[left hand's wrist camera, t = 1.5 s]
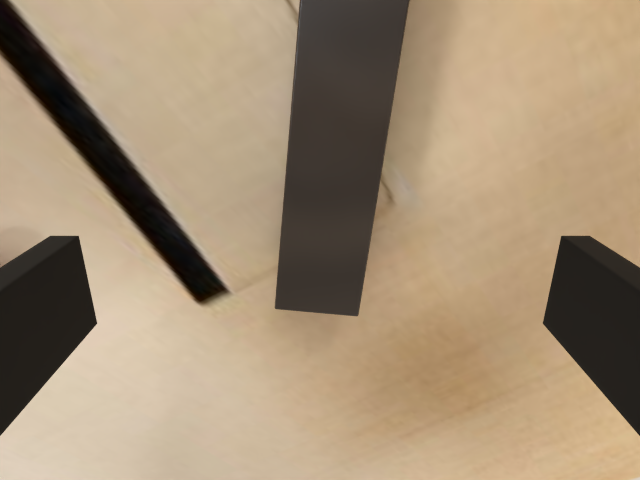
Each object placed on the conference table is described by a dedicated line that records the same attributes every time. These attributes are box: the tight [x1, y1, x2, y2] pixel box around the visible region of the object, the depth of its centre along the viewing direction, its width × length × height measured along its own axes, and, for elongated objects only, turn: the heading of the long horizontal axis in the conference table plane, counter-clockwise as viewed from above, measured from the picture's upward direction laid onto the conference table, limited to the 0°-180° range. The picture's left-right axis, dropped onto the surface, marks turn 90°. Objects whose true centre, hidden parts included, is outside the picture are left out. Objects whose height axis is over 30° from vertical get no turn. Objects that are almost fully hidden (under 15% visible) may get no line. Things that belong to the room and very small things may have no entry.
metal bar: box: [275, 0, 409, 316], centre depth 22 cm, size 28×4×7 cm, turn 174°
